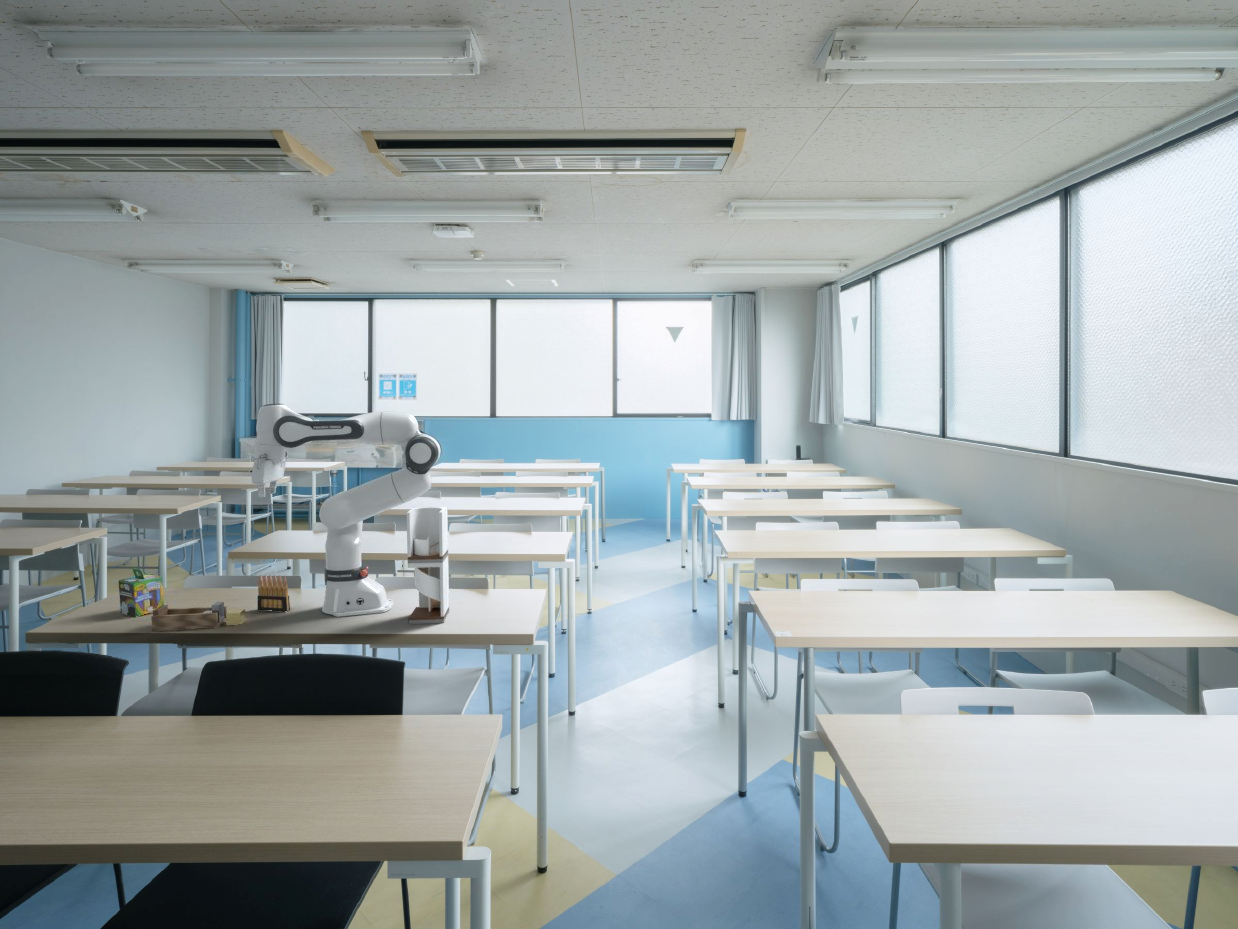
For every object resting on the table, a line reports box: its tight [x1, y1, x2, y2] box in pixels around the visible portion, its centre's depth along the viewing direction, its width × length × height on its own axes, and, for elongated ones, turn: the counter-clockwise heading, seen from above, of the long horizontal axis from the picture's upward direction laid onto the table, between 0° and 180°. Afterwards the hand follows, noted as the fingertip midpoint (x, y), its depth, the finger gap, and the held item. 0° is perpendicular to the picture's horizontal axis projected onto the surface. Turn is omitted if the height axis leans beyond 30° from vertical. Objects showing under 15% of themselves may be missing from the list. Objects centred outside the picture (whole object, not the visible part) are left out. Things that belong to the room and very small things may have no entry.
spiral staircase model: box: [406, 506, 450, 625], centre depth 217 cm, size 11×11×35 cm
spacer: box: [225, 608, 246, 626], centre depth 212 cm, size 4×4×4 cm
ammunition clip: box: [257, 574, 291, 612], centre depth 226 cm, size 11×2×12 cm, turn 81°
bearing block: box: [150, 604, 228, 632], centre depth 210 cm, size 18×8×6 cm, turn 100°
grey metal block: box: [203, 601, 225, 623], centre depth 211 cm, size 5×4×6 cm
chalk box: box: [118, 567, 165, 618], centre depth 224 cm, size 9×9×15 cm
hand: (266, 495), depth 221 cm, fingers open, 8 cm apart
